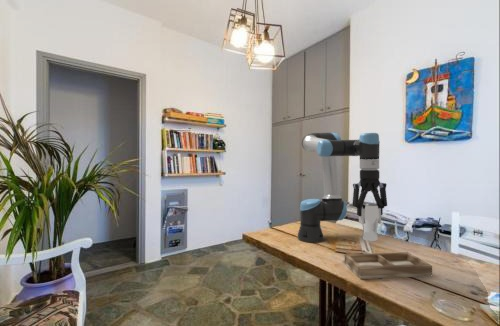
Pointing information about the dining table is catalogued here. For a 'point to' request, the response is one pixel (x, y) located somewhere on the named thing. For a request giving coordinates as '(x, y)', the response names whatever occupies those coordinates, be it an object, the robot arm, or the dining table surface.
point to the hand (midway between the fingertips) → (369, 223)
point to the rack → (387, 265)
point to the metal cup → (370, 221)
